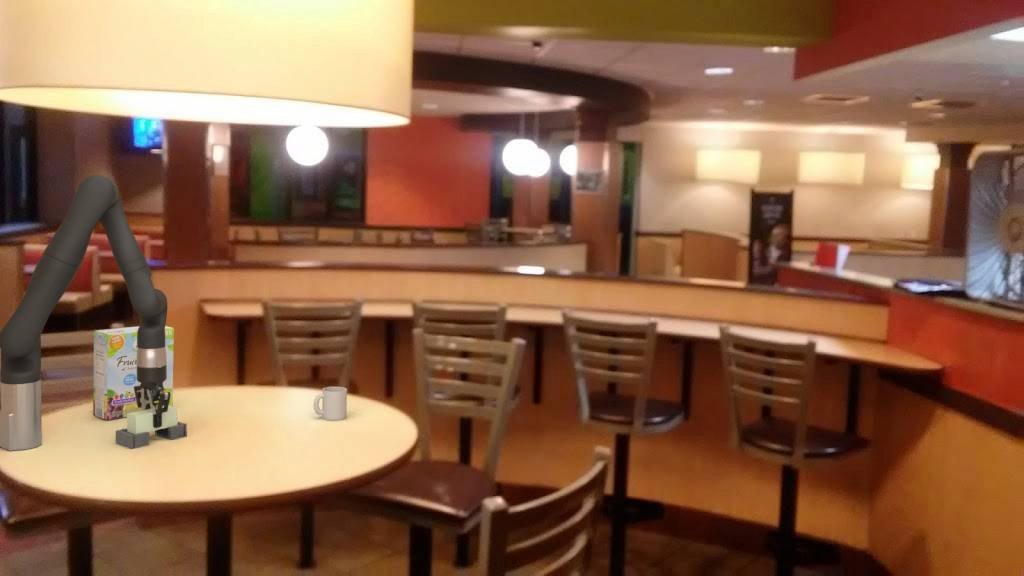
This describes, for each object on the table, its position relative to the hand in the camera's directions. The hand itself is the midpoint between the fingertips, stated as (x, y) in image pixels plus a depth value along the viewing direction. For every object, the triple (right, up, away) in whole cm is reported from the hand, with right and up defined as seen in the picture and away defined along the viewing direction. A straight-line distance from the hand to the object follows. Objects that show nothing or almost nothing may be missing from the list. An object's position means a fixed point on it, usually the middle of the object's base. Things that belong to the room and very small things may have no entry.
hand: (152, 425), depth 247 cm
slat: (0, -1, 0) cm, 1 cm away
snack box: (-16, -1, +27) cm, 32 cm away
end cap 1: (-4, -4, -4) cm, 7 cm away
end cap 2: (+3, -4, +5) cm, 7 cm away
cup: (+42, -3, +30) cm, 52 cm away
